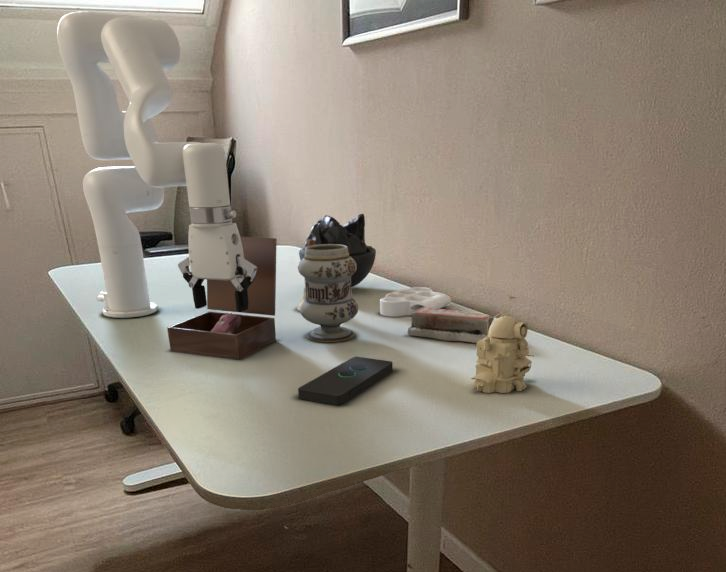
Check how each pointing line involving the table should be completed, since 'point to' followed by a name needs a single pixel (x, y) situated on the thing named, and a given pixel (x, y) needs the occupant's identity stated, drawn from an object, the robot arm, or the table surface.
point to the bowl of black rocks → (345, 242)
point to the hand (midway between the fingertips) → (221, 308)
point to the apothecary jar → (328, 291)
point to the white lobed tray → (411, 301)
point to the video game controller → (227, 324)
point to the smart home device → (345, 380)
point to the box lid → (260, 289)
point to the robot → (503, 356)
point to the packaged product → (449, 325)
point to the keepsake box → (221, 336)
